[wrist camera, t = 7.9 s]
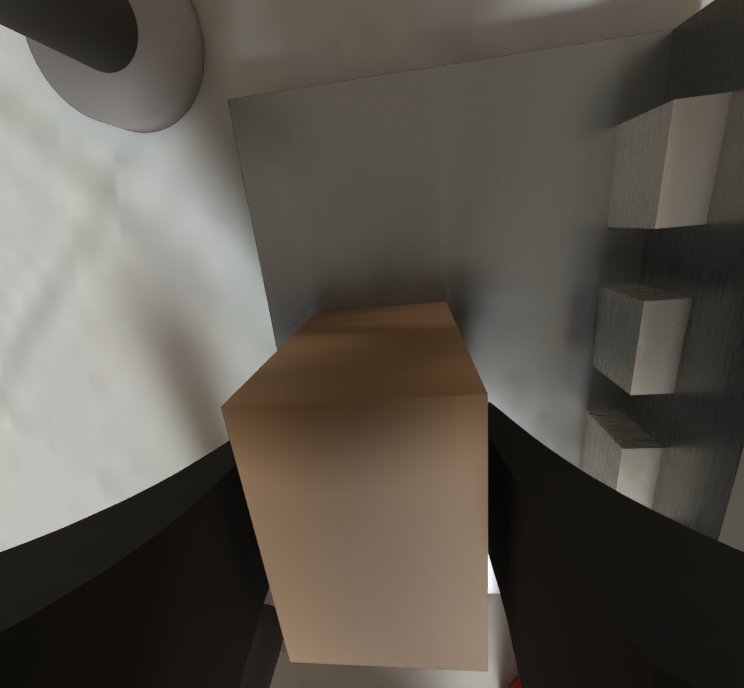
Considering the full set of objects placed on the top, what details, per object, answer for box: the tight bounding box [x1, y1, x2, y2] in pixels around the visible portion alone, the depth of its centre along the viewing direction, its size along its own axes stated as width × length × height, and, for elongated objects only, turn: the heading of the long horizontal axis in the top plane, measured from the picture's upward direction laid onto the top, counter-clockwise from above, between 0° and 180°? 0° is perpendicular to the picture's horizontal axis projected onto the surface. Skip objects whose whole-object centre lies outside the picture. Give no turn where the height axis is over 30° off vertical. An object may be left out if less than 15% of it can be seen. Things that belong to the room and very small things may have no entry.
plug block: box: [221, 302, 488, 672], centre depth 9 cm, size 4×6×6 cm, turn 6°
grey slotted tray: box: [228, 0, 744, 594], centre depth 10 cm, size 12×18×5 cm, turn 6°
